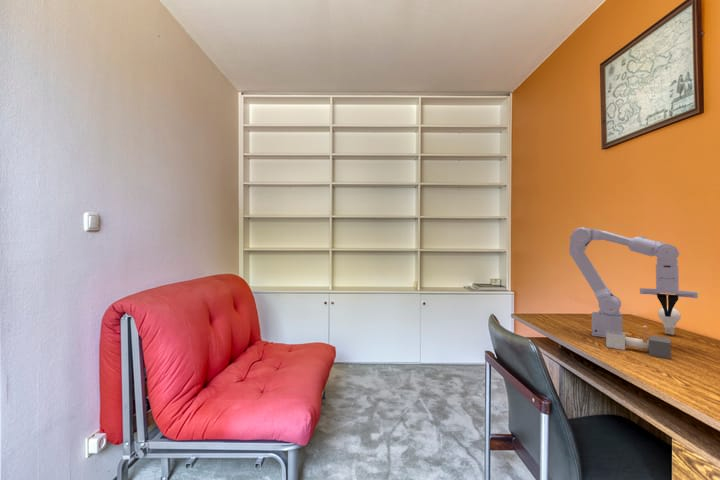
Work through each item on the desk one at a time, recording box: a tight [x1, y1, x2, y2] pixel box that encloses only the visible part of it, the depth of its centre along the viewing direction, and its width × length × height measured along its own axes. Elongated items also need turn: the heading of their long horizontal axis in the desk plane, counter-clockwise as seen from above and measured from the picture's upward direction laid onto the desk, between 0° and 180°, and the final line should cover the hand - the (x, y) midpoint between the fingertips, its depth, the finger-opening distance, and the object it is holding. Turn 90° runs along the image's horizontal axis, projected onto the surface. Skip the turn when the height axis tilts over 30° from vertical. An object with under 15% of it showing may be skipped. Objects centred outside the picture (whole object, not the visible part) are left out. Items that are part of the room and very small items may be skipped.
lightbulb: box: [657, 306, 682, 336], centre depth 122 cm, size 6×6×11 cm
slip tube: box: [625, 325, 649, 351], centre depth 104 cm, size 11×3×8 cm, turn 47°
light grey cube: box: [605, 330, 627, 351], centre depth 109 cm, size 5×5×5 cm
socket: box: [648, 334, 672, 360], centre depth 101 cm, size 5×7×5 cm
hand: (667, 316), depth 110 cm, fingers closed
